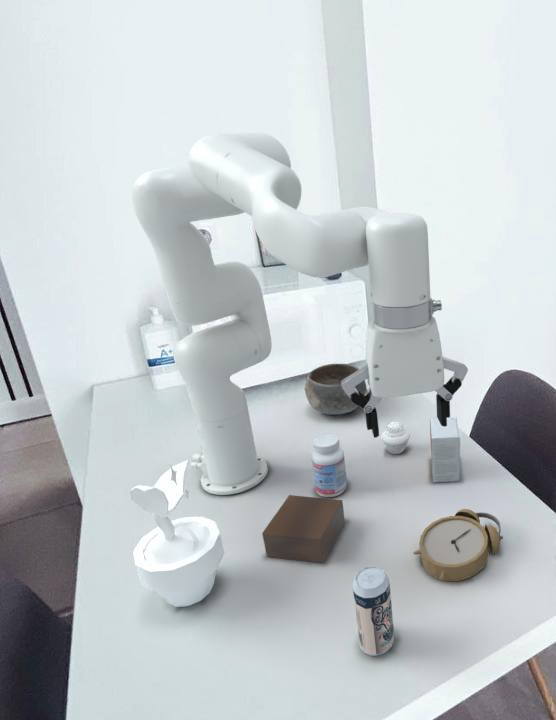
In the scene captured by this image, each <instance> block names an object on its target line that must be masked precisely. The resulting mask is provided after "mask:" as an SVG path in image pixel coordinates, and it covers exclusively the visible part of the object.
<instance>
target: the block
mask: <svg viewBox="0 0 556 720" xmlns="http://www.w3.org/2000/svg"><path fill="white" fill-rule="evenodd" d="M344 511H345V510H344V502H343V500H342V499H337V498H336V499H335V498H327V497H314V496H304V495H293V494H289V495H288V496H287V497H286V499H285V500H284V502H283V503H282V505H281V506H280V508H279V509H278V510H277V511H276V513H275V514H274V516H273V517H272V519H271V520H270V521H269V523H267V526H266V527H265V529H264V530H263V532H262V533H261V535H262V539H263V544H264V549H265V554H266V557H268V558H276V559H285V560H293V561H303V562H312V563H319V564H324V563H325V562H326V560H327V558H328V556H329V554H330V552H331V551H332V549H333V547H334V545H335V542H336V540H337V538H338V536H339V535H340V533H341V531H342V529H343V527H344V525H345V524H346V518H345V512H344Z"/></svg>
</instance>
